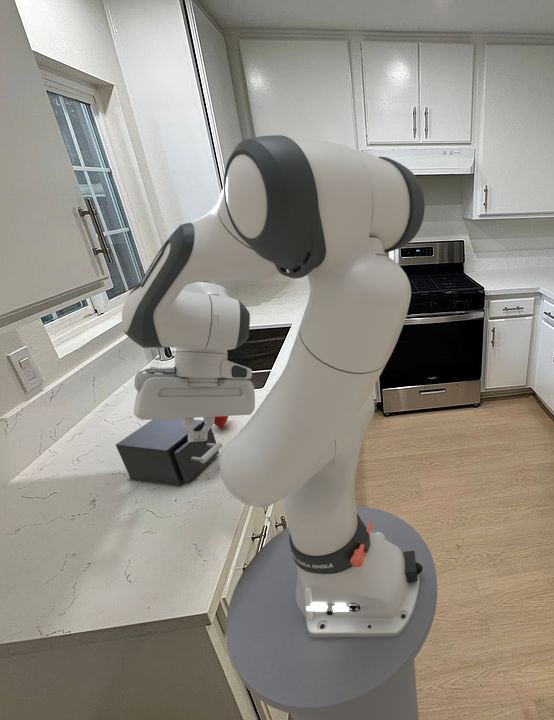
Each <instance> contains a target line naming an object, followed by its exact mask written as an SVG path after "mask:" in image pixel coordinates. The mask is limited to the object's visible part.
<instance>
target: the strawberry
mask: <svg viewBox="0 0 554 720" xmlns="http://www.w3.org/2000/svg"><path fill="white" fill-rule="evenodd" d="M228 419H229V416H216V417H215V423H214V424H213V425H215V426H217V427H219V428H221V429H223V428H224V427H225V425H226V423H227V421H228Z"/></svg>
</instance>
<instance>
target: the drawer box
mask: <svg viewBox="0 0 554 720" xmlns="http://www.w3.org/2000/svg"><path fill="white" fill-rule="evenodd" d="M205 423H206V422H204V421H203V420H202V419H194V423H193V424H190V425H191V427H192V428H193V430H194V431H196V430H197V429H198V428H200V427H201V429H202V428H203V426H204V425H205ZM187 437H188V432H187V430H186V429H185V427H184V426H183V424H182V418H175V419H154V420H149V421H148V422H146V423H145V424H143V425H142V426H140V427H139V428H138V429H136V430H135V431H133V432H132V433H131V434H128V436H126V437H124V438H122V440H120V441H118V442H117V443H115V447H116V449H117V452H118V453H119V456H120V458H121V460H122V462H123V465H124V467H125V469H126V472H127V474H128V476H129V479H130V480H135V481H142V482H148V483H156V484H162V485H163V484H164V485H170V486H178V487H181V486H182V485H183V484H184V483H185V482H184V479H183V477H182V478H180V476H179V473H178V470H177V468H176V465H175V462H174V460H173V457H172V454H171V452H170V451H171V450H172V449H174V448H175V447H176V446H177V445H179V444H180V443H181V442H182V441H184V440H185V439H186V438H187Z"/></svg>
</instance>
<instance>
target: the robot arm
mask: <svg viewBox="0 0 554 720" xmlns="http://www.w3.org/2000/svg"><path fill="white" fill-rule="evenodd" d="M223 174H224V175H223V187H222V190H221V192H220V194H219V197H218V200H217V203H216V204H215V206H214V207H212V209H211V210H210V211H208V213H206V214H205V215H203V216H201V217H200V218H198V219H196V220H193V221H191V222H186V223H182V224H178V225H177V226H176V227H175V228H174V229H173V230H172V232H170V234H169V235H168V237H167V238H166V239H165V241H164V243H163V244H162V246H161V247H160V249H159V250H158V252H157V254H156V255H155V257H154V259H153V261H152V262H151V263H150V265H149V267H148V268H147V270H146V272H145V273H144V274H143V277H142V278H141V280H140V282H139V283H138V284H137V285H136V286H135V287H134V288H132V290H130V292H129V294H128V296H127V298H126V299H125V301H124V304H123V306H122V311H121V323H122V327H123V332H124V334H125V335H126V336H127V337H128V338H129V339H130V340H132V342H134V343H135V344H137V345H138V346H140V347H141V348H142V349H154V348H155V349H159V348H160V349H163V348H175V354H174V355H175V356H174V367H168V366H166V367H155V366H147V367H145V368H143V369H140V370H139V371H137V373H136V374H135V377H134V388H135V390H136V395H135V401H134V404H133V405H134V407H133V415H134V416H135V418H137V419H138V420H142V421H151V420H154V419H175V418H182V424H183V426H184V427H185V429H186V430H187V432H188V442H197V441H207V436H208V431H209V430H210V428H212V427H213V426H214V425H215V424H214V423H215V417H216V416H228V417H234V416H235V417H236V416H250V415H252V414H253V415H252V416H251V417H250V419H249V420H248V421H247V422H246V424H245V425H244V426H243V427H242V429H240V431H238V433H237V434H236V435H234V436H233V438H232V439H231V440H230V441H229V442H228V443H226V445H225V446H224V447H222V448H221V452H220V457H219V474H220V479H221V481H222V483H223V486H224V487H225V489H226V490H227V491H228V493H229V494H230V495H231V496H232V497H233V498H234V499H235V500H237V501H239V502H241V503H242V504H244V505H247V506H250V507H255V508H269V507H270V506H272V505H274V504H276V503H277V502H279V501H280V500H282V499H283V511H284V514H285V519H286V523H287V527H289V531H290V534H289V542H290V547H291V552H292V556H293V559H294V561H295V563H296V565H297V586H296V602H297V605H298V608H299V610H300V611H301V613H302V614H303V615H304V617H305V619H306V623H307V630H308V633H309V635H310V636H311V637H394V636H398V635H399V634H400V633H401V632H402V631H403V630H404V629H405V628H406V626H407V625H408V623H409V621H410V620H411V617H412V615H413V613H414V610H415V607H416V603H417V599H418V594H419V586H420V576H419V574H420V573H421V572H422V570H423V567H422V565H421V564H419V563H417V562H416V560H415V551H406V552H403V553H402V551H401V550H400V549H399V547H398V546H396V545H394V544H392V543H391V542H389V541H387V540H385V536H384V534H383V533H381V532H376V533H373V532H371V529H372V524H371V523H372V520H370V522H369V525H368V527H367V528H366V526H365V524H364V523H363V521H362V520H361V518H360V517H359V515H358V514H357V512H356V507H357V504H356V495H355V483H356V482H355V481H356V474H357V468H358V462H359V457H360V452H361V448H362V444H363V441H364V438H365V435H366V432H367V429H368V427H369V425H370V423H371V421H372V419H373V417H374V414H375V411H376V410H375V409H376V407H375V401H374V398H373V395H372V391H373V389H374V387H375V386H376V384H377V382H378V380H379V378H380V376H381V374H382V373H383V371H384V369H385V367H386V365H387V363H388V361H389V359H390V358H391V356H392V354H393V352H394V350H395V348H396V345H397V343H398V340H399V338H400V336H401V333H402V330H403V327H404V324H405V321H406V318H407V315H408V312H409V307H410V303H411V299H412V287H411V283H410V279H409V277H408V276H407V273H406V272H405V271H404V269H403V268H402V267H401V265H399V264H398V263H397V262H396V261H395V260H393V259H392V258H391V257H389V256H388V255H386V254H387V253H390V252H393V251H396V250H398V249H401V248H402V247H405V246H406V245H408V244H409V243H411V242H412V241H413V240H414V238H415V237H416V236H417V235H418V233H419V231H420V229H421V227H422V224H423V221H424V216H425V207H426V205H425V203H426V202H425V196H424V195H425V194H424V191H423V188H422V185H421V183H420V181H419V179H418V177H417V176H416V175H415V174H414V173H413V171H411V170H410V169H409V168H407V167H406V166H405V165H403V164H402V163H400V162H398V161H397V160H394V159H392V158H389V157H387V156H376V155H374V154H370V153H367V152H364V151H360V150H358V149H353V148H350V147H348V146H347V145H344V144H341V143H335V142H328V141H319V140H311V139H292V138H291V137H288V136H286V135H283V134H278V135H277V134H275V135H274V134H273V135H272V134H271V135H259V136H254V137H250V138H249V137H248V138H246V139H244V140H241V141H240V142H238V143H237V144H236V146H235V147H234V149H233V150H232V152H231V153H230V156H229V158H228V160H227V162H226V165H225V169H224V173H223ZM279 274H281V275H282V276H285V277H287V278H289V279H294V280H295V279H301V278H304V277H306V276H307V279H308V283H309V289H310V290H309V296H308V301H307V304H306V307H305V309H304V312H303V315H302V317H301V321H300V324H299V326H298V330H297V334H296V336H295V339H294V341H293V345H292V348H291V350H290V354H289V356H288V360H287V363H286V365H285V367H284V369H283V371H282V373H281V374H280V376H279V377H278V379H277V380H276V382H275V384H274V385H273V386H272V388H271V389H270V391H269V392H268V393H267V395H266V396H265V398H264V399H263V401H262V402H261V403H260V405H259V406H258V408H257V409H256V394H255V391H256V390H255V386H254V384H253V382H252V381H251V380H250V379H251V378H253V377H252V376H253V370H252V368H249V367H247V366H244V365H241V364H238V363H235V362H233V361H230V360H228V355H229V354H228V351H231V350H236V349H238V348H239V347H241V346H242V345H243V344H244V343H245V342H247V340H248V339H249V338H250V337H249V336H250V325H251V323H250V322H251V313H250V311H249V310H248V309H247V307H246V305H244V304H243V302H241V301H240V300H239V299H236V298H233V297H230V296H229V292H228V290H227V289H226V288H225V287H224V286H222V285H220V284H217V283H214V282H213V281H215V282H219V281H220V282H221V281H224V282H260V281H265V280H269V279H271V278H274V277H275V276H277V275H279ZM255 409H256V411H255ZM254 411H255V412H254ZM253 412H254V413H253ZM195 418H202V419H203V421H204V422H205V425H204V426H203V428H202V430H201V431H194V430H193V428H192V427H191V425H190V424H193V423H194V420H195ZM403 554H404V556H403ZM403 616H404V617H406V618H405V619H402V618H401V617H403ZM323 626H324V627H325V628H324V629H321V627H323ZM369 628H370V629H369Z"/></svg>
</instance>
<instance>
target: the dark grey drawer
mask: <svg viewBox="0 0 554 720" xmlns="http://www.w3.org/2000/svg"><path fill="white" fill-rule="evenodd" d="M201 430H202V429H201V427H200V428H198V429H197V430H196V431H201ZM222 448H223V443H222V442H220V441H217V440H216V438H215V434H214V432H213V428H212V427H211V428H210V430H209V431H208V436H207V441H197V442H188V437H187V438H186V439H185V440H184V441H182V442H181V443H180V444H179V445H177V446H176V447H175V448H174V449H172V450H171V451H170V452H171V454H172V457H173V460H174V462H175V465H176V468H177V470H178V473H179V476H180V478H182V477H183V479H184V483H189V482H190V481H191V480H193V479H194V478H195V477H196V476H197V475H198V474H199V473H200V472H201V471H202V470H203V469H204V468H205V467H206V466H207V465H208V464H209V463H210V462H211V461H213V459H215V457H217V456H218V455H219V454H220V451H219V450H220V449H222Z"/></svg>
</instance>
